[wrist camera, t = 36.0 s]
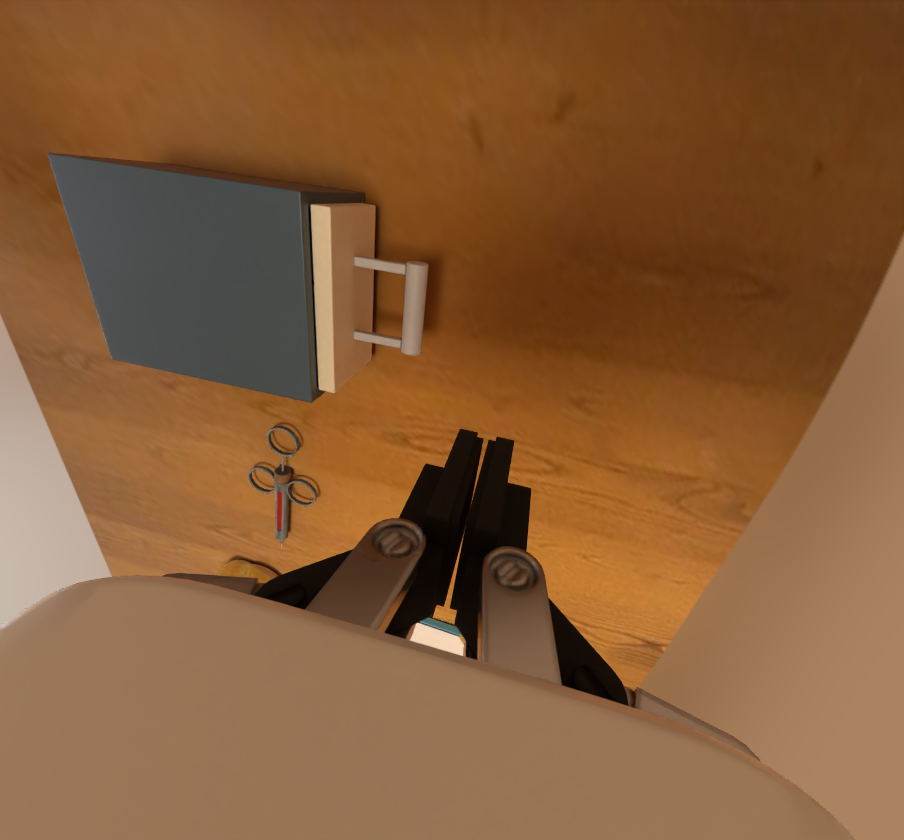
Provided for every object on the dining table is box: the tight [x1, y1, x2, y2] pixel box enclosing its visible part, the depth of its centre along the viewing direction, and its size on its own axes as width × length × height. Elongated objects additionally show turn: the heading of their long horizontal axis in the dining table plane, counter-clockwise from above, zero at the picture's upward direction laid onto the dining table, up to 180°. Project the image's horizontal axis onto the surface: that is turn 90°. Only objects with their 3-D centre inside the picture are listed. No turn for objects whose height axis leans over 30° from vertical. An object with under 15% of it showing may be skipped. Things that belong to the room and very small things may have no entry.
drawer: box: [308, 203, 429, 393], centre depth 29 cm, size 19×11×7 cm, turn 83°
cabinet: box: [48, 153, 365, 403], centre depth 29 cm, size 16×13×9 cm
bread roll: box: [218, 560, 278, 583], centre depth 52 cm, size 8×9×4 cm
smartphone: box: [410, 617, 464, 656], centre depth 50 cm, size 8×1×15 cm
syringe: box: [248, 426, 318, 553], centre depth 44 cm, size 8×18×2 cm, turn 167°
